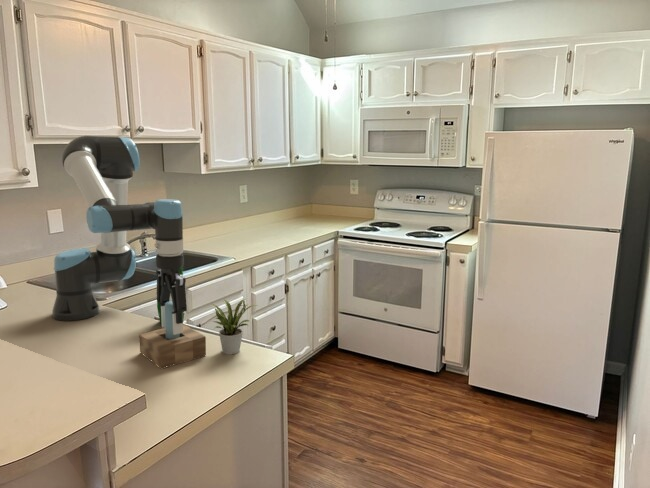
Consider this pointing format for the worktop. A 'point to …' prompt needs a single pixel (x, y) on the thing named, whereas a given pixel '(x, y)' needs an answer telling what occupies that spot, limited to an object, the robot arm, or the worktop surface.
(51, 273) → the worktop surface
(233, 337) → the house plant
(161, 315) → the robot arm
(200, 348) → the socket block
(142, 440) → the worktop surface
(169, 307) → the peg
